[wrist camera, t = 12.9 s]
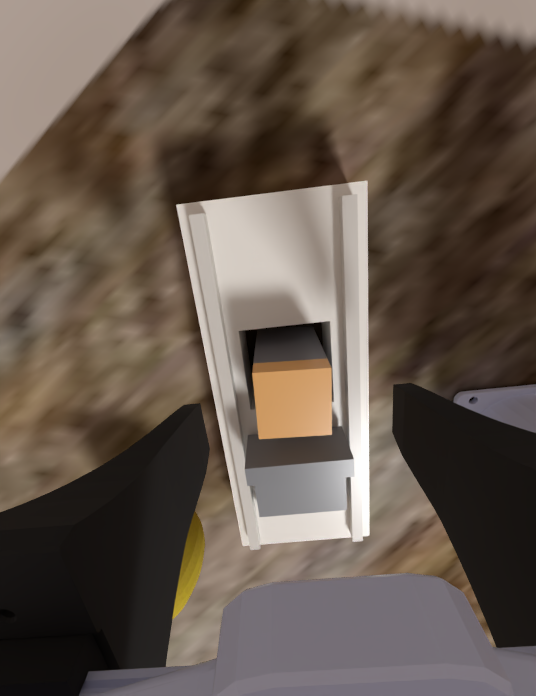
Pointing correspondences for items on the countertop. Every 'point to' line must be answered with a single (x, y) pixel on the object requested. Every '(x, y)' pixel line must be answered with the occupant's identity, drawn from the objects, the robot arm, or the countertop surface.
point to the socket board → (283, 310)
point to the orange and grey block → (291, 384)
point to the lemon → (190, 564)
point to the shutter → (299, 473)
